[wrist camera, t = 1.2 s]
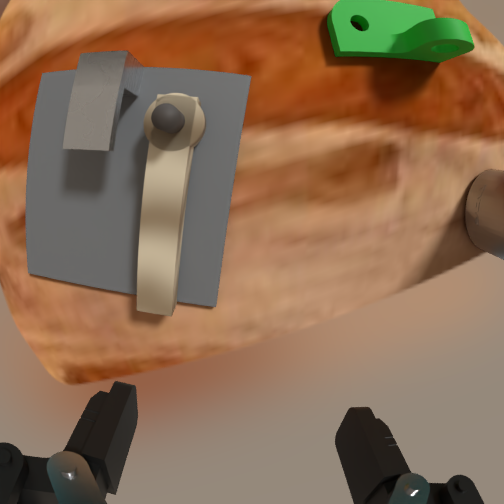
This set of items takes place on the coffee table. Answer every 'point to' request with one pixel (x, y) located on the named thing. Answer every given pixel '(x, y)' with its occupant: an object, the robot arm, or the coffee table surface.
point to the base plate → (129, 186)
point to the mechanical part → (396, 31)
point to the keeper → (100, 98)
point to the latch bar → (166, 197)
